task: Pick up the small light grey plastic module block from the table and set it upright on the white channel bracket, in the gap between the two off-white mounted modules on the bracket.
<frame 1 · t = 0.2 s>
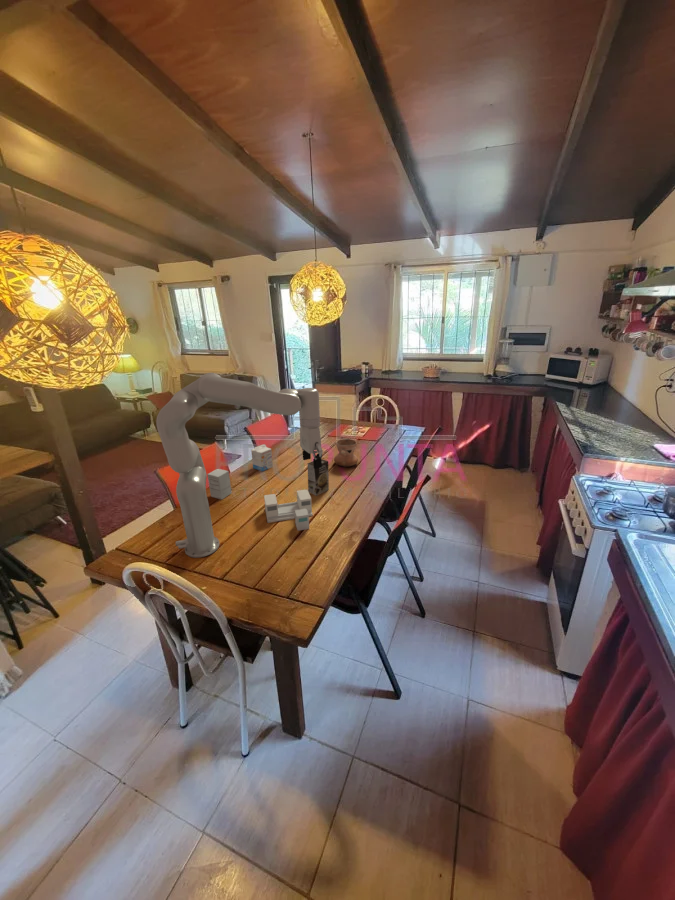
hand: (312, 463, 135), 30 cm above the table, tool pointing down, fingers open, 9 cm apart
supplement box: (221, 495, 173), on the table
coffee box: (318, 491, 177), on the table
ceramic jug: (346, 463, 209), on the table
ink box: (263, 467, 204), on the table
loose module: (302, 526, 147), on the table
white channel bracket: (288, 512, 158), on the table
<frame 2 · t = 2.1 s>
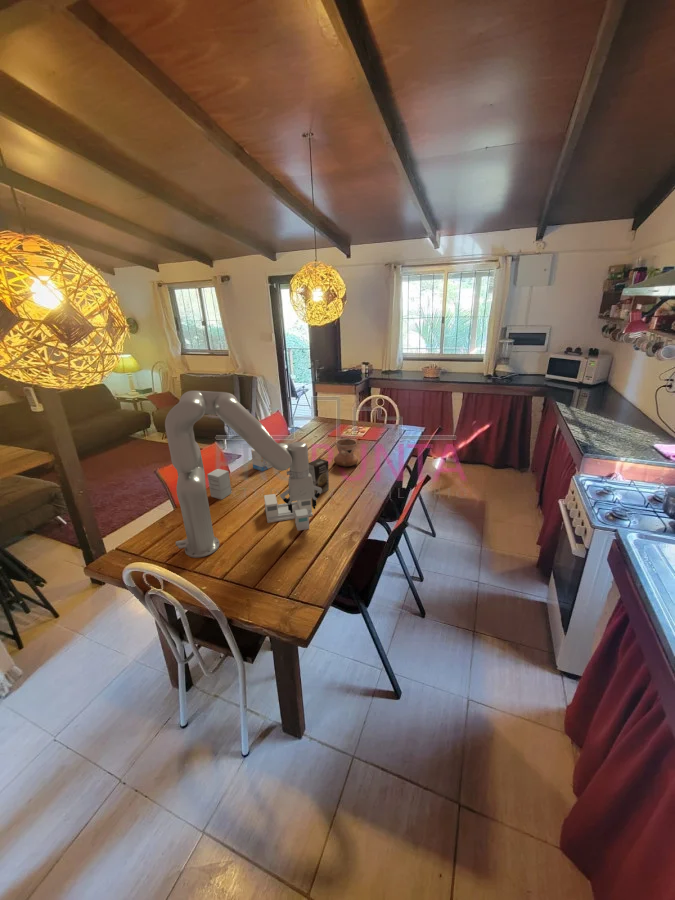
hand: (302, 509, 144), 8 cm above the table, tool pointing down, fingers open, 9 cm apart
nothing on the table moved.
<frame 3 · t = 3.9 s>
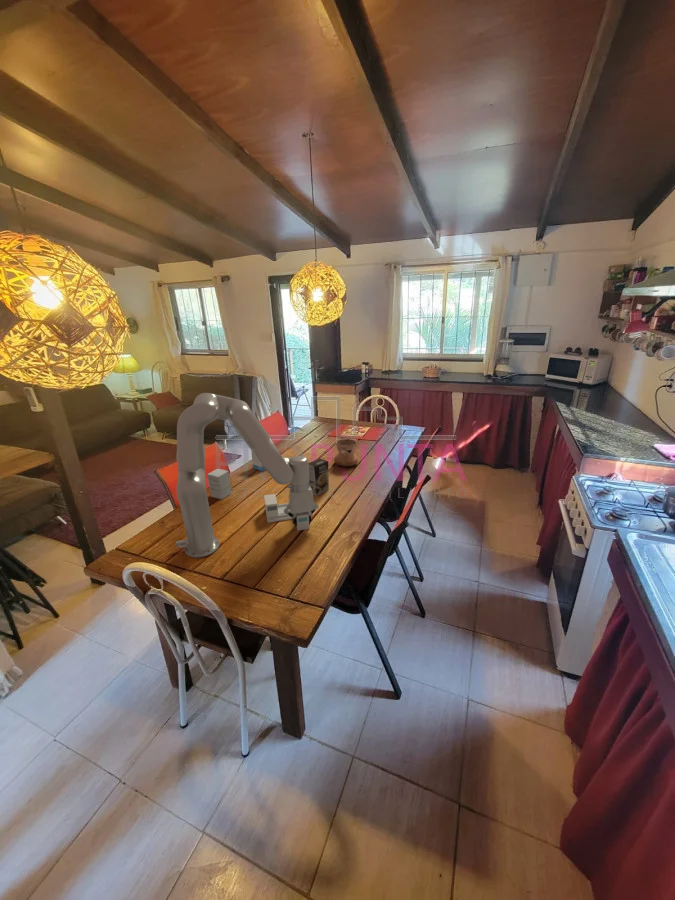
hand: (302, 523, 147), 1 cm above the table, tool pointing down, fingers closed on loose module, 5 cm apart
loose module: (302, 526, 147), on the table, touching gripper
everything else where it was.
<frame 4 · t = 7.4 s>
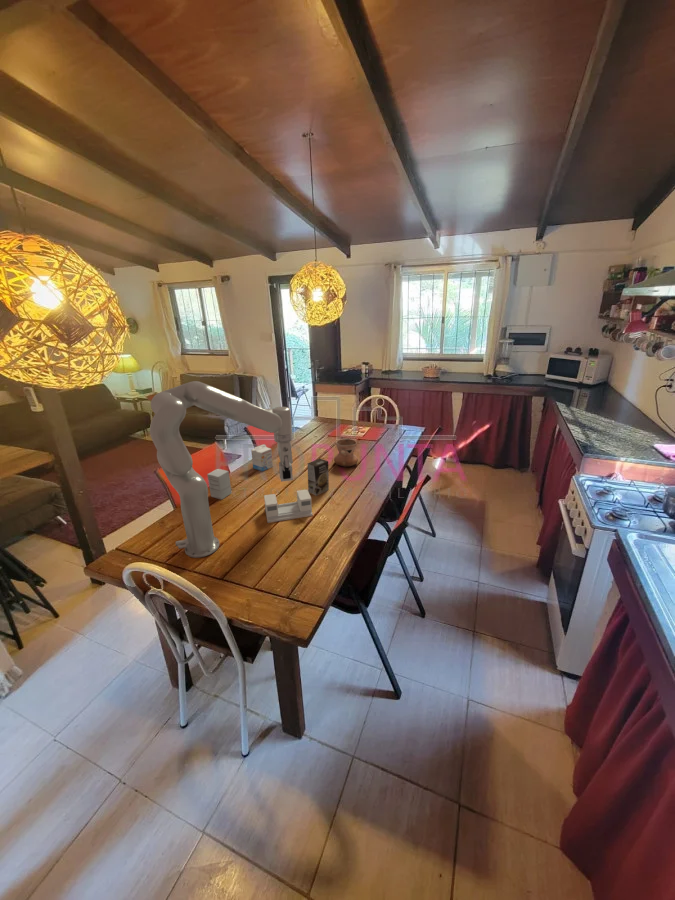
hand: (286, 475, 151), 19 cm above the table, tool pointing down, fingers closed on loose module, 5 cm apart
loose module: (286, 478, 151), point 17 cm above the table, touching gripper
everything else where it was.
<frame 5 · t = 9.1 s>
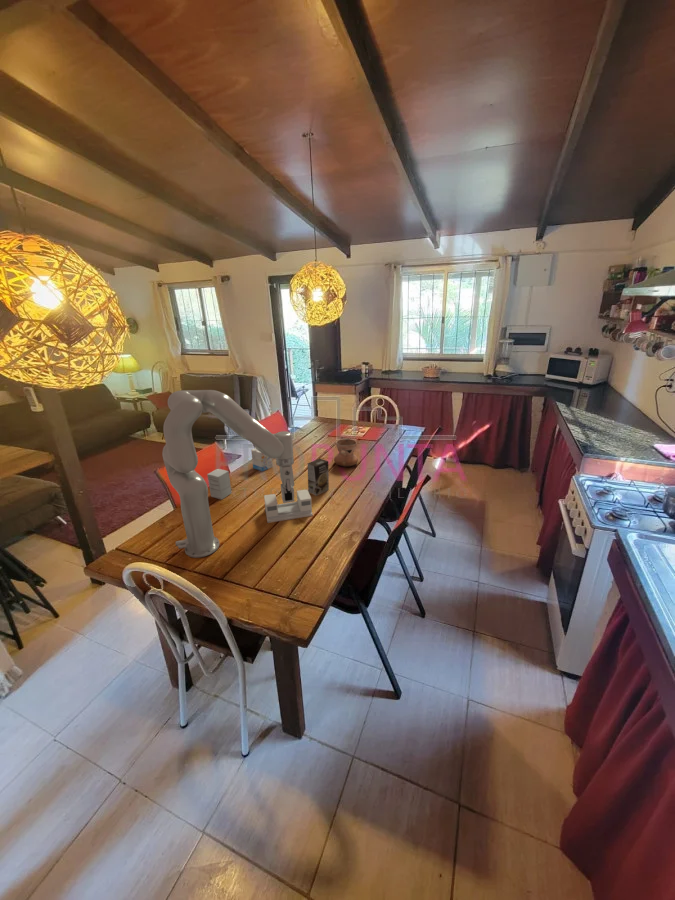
hand: (287, 496, 155), 8 cm above the table, tool pointing down, fingers closed on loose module, 5 cm apart
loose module: (288, 499, 155), point 7 cm above the table, touching gripper
everything else where it was.
when the fingers open (4 cm above the table, at t = 10.7 s): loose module drops 1 cm, resting on white channel bracket.
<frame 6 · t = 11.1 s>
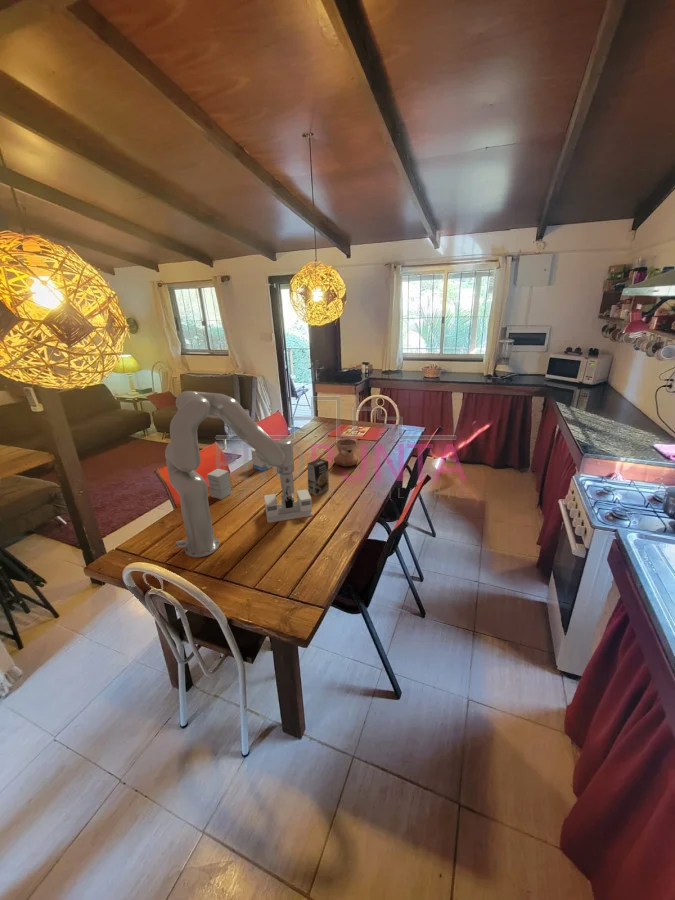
hand: (287, 502, 156), 5 cm above the table, tool pointing down, fingers open, 9 cm apart
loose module: (288, 509, 157), point 1 cm above the table, touching white channel bracket
everything else where it was.
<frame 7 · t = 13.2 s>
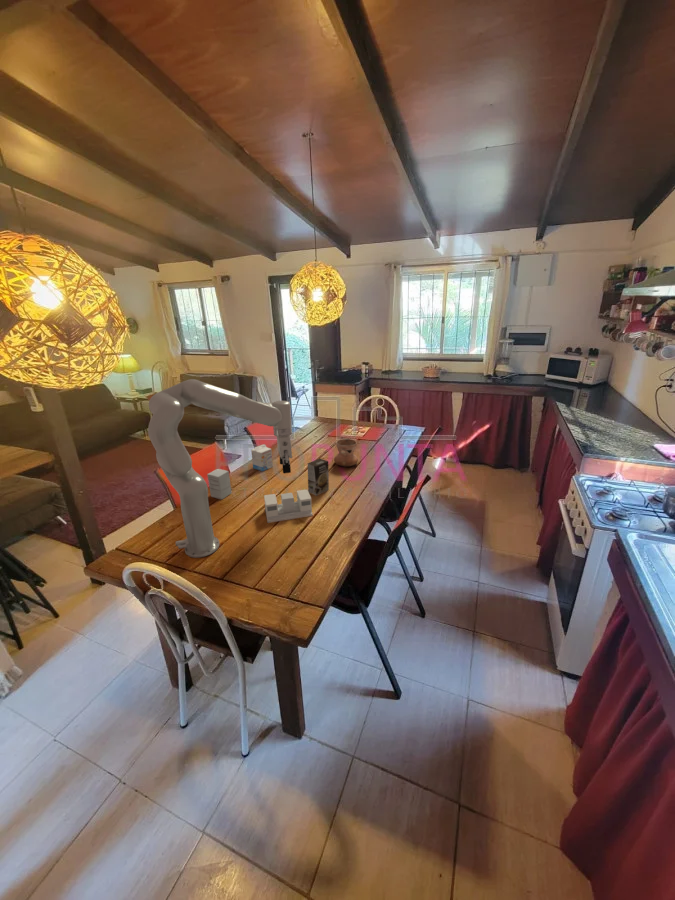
hand: (285, 468, 149), 22 cm above the table, tool pointing down, fingers open, 9 cm apart
nothing on the table moved.
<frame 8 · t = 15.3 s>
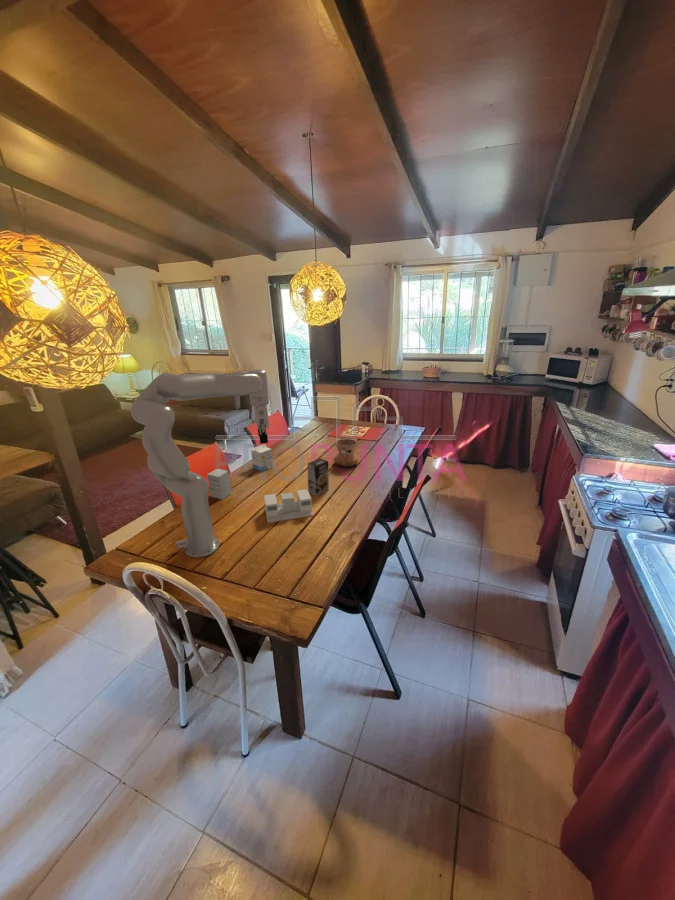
hand: (263, 439, 148), 34 cm above the table, tool pointing down, fingers open, 9 cm apart
nothing on the table moved.
at the end: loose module 0.1 cm off-centre on the white channel bracket, point 1.5 cm above the white channel bracket's base; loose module tilted 0°; the gripper is holding nothing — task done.
